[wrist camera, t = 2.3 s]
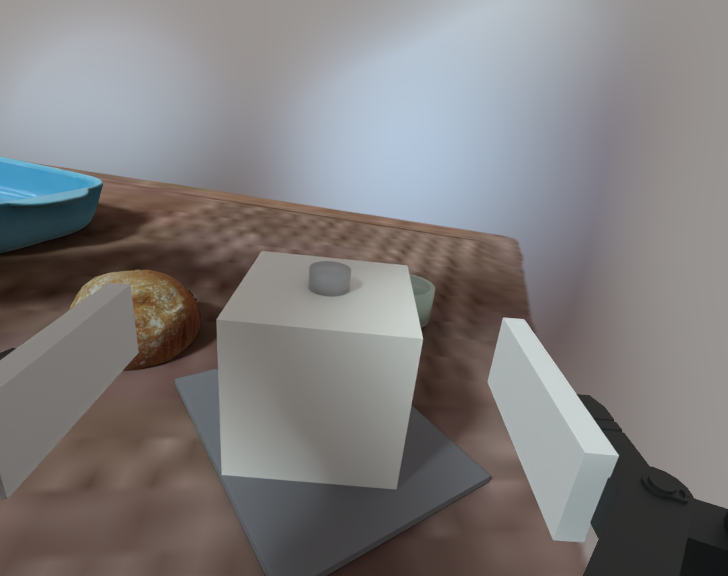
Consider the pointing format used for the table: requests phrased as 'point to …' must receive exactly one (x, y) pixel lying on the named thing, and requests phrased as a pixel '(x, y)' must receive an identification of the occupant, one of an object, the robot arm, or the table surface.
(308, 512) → the rubber mat
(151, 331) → the bread roll
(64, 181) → the casserole dish
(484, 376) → the table surface
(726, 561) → the robot arm
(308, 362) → the box cover
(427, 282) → the bowl
